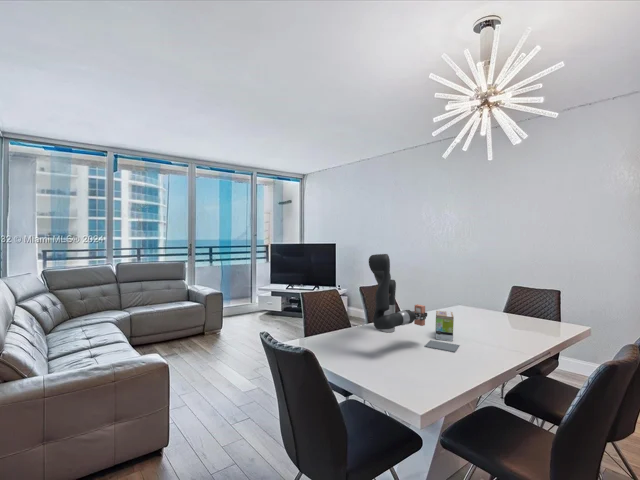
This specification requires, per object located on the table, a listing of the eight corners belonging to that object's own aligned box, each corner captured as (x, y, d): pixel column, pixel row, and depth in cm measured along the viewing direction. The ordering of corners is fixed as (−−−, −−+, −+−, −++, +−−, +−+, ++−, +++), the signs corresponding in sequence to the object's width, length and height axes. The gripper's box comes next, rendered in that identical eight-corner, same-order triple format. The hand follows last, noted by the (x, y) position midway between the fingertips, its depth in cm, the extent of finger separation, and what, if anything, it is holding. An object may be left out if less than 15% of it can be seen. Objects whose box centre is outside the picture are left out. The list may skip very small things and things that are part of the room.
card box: (421, 326, 190) (422, 306, 189) (414, 324, 194) (414, 305, 193) (424, 325, 191) (425, 305, 191) (417, 323, 195) (417, 304, 195)
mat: (424, 346, 187) (424, 345, 187) (430, 341, 198) (430, 340, 198) (455, 352, 178) (455, 351, 178) (459, 346, 189) (459, 344, 189)
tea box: (453, 341, 197) (453, 316, 197) (435, 339, 201) (435, 314, 201) (452, 334, 212) (452, 311, 212) (435, 333, 215) (435, 310, 215)
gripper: (414, 313, 178) (433, 309, 188) (393, 308, 189) (412, 304, 200) (414, 327, 178) (433, 322, 188) (393, 321, 189) (412, 317, 200)
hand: (422, 313), depth 194 cm, fingers closed on card box, 5 cm apart
